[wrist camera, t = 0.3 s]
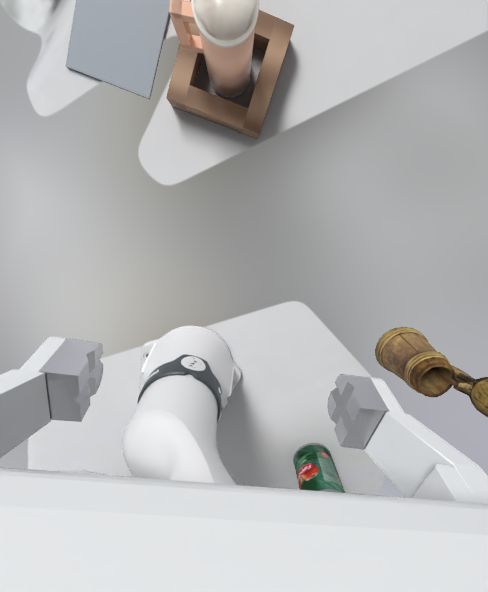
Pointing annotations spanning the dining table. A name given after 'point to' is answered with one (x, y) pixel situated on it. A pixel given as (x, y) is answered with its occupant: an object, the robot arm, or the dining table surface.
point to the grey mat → (119, 41)
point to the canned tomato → (316, 469)
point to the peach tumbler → (219, 38)
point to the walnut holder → (248, 121)
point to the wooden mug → (427, 367)
